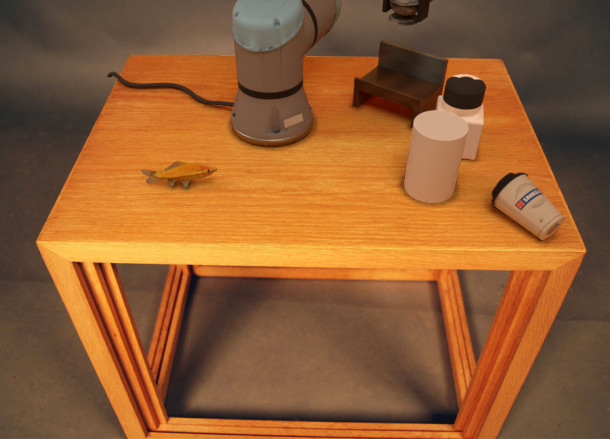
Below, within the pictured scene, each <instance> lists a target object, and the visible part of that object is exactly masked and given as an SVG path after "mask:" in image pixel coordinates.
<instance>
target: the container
mask: <svg viewBox="0 0 610 439" xmlns="http://www.w3.org/2000/svg"><path fill="white" fill-rule="evenodd" d="M443 89H444V90H443V94H442V96H439V97H438V100H437V106H436V110H439V111H447V112H451V113H454V114H456V115H458V116H460V117H461V118H463V119H464V120H465V121H466V122H467V124H468V127H469V129H468V134H467V138H466V142H465V146H464V151H463V155H462V159H461V160H471V161H474V160H476V157H477V153H478V150H479V145H480V141H481V138H482V134H483V130H484V126H485V114H484V98H485V95H486V91H487V85H486V83H485V81H484V80H483V79H482V78H480V77H478V76H476V75H473V74H467V73H459V74H454V75H451V76H450V77H448V78H447V79H446V80H445V83H444V88H443Z"/></svg>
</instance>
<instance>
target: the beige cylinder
mask: <svg viewBox="0 0 610 439" xmlns="http://www.w3.org/2000/svg"><path fill="white" fill-rule="evenodd" d="M411 129H412V130H411V134H410V135H411V136H410V142H409V149H408V155H407V162H406V167H405V168H406V169H405V175H404V182H403V189H404V190H405V192H406V193H407V194H408V195H409V196H410V197H411V198H412V199H414V200H417V201H418V202H422V203H426V204H427V203H428V204H439V203H443V202H447V201H448V200H449V199H450V198H452V196H453V195H454V192H455V188H456V185H457V180H458V175H459V171H460V167H461V164H462V160H463V159H462V155H463V151H464V146H465V142H466V138H467V134H468V129H469V127H468V124H467V122H466V121H465V120H464V119H463V118H461V117H460V116H458V115H456V114H454V113H451V112H447V111H439V110H433V111H426V112H423V113H421V114H419V115H418V116H416V118H415V119H414V122H413V128H411Z"/></svg>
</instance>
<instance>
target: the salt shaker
mask: <svg viewBox="0 0 610 439" xmlns="http://www.w3.org/2000/svg"><path fill="white" fill-rule="evenodd" d="M418 4H419V0H390V5H391V8H392V9H391V10H392V11H393V13H391V14H390V15H388V21H389V22H390V23H392V24H394V25H397V26H403V27H404V26H406V27H407V26H408V27H409V26H414V25H417V24H418V23H419V22H417V21H416V19H417V11H418Z"/></svg>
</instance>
